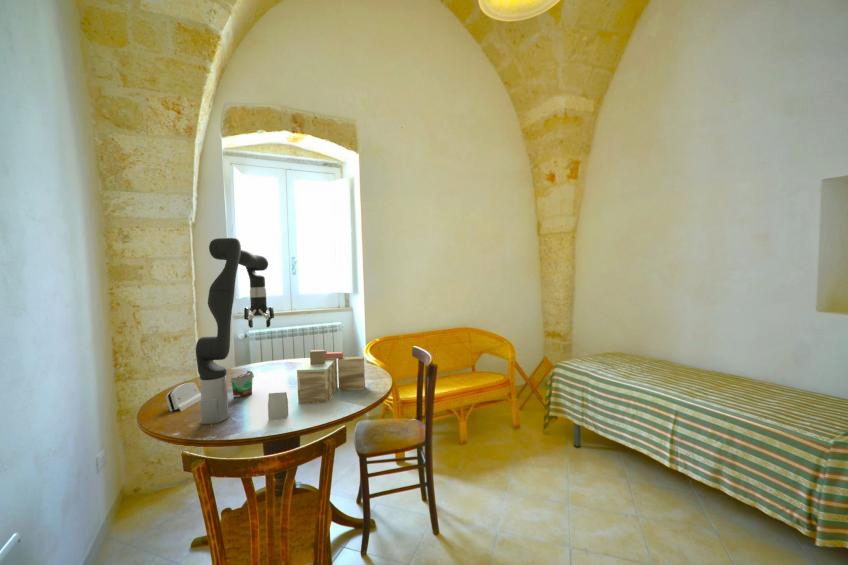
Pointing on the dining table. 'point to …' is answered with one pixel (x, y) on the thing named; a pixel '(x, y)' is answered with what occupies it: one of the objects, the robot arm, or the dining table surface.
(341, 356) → the key bar
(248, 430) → the dining table surface
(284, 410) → the tea box
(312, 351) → the lid
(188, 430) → the dining table surface
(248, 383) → the food container
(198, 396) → the hinge
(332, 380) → the wooden box
